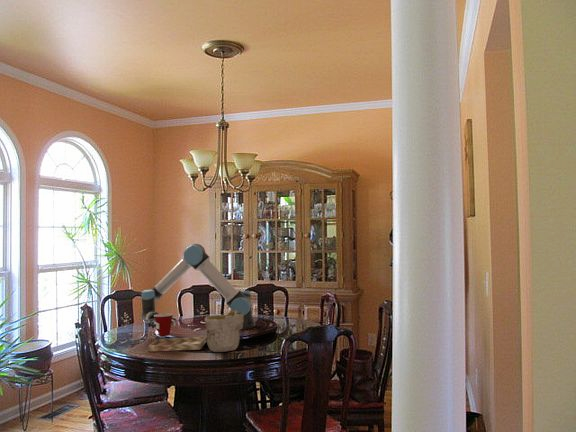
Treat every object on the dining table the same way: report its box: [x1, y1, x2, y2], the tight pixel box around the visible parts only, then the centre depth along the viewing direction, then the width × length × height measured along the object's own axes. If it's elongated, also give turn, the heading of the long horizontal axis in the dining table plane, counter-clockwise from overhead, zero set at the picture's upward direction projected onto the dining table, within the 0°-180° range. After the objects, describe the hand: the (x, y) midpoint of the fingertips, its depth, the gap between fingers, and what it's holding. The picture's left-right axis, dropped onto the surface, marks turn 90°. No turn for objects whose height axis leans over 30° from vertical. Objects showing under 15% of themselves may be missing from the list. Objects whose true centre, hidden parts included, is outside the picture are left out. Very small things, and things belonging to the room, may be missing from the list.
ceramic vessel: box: [204, 310, 244, 353], centre depth 268 cm, size 23×24×25 cm
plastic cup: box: [154, 312, 174, 337], centre depth 277 cm, size 11×11×12 cm
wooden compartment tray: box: [147, 336, 207, 352], centre depth 276 cm, size 29×15×3 cm, turn 87°
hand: (166, 325), depth 273 cm, fingers closed on plastic cup, 9 cm apart
